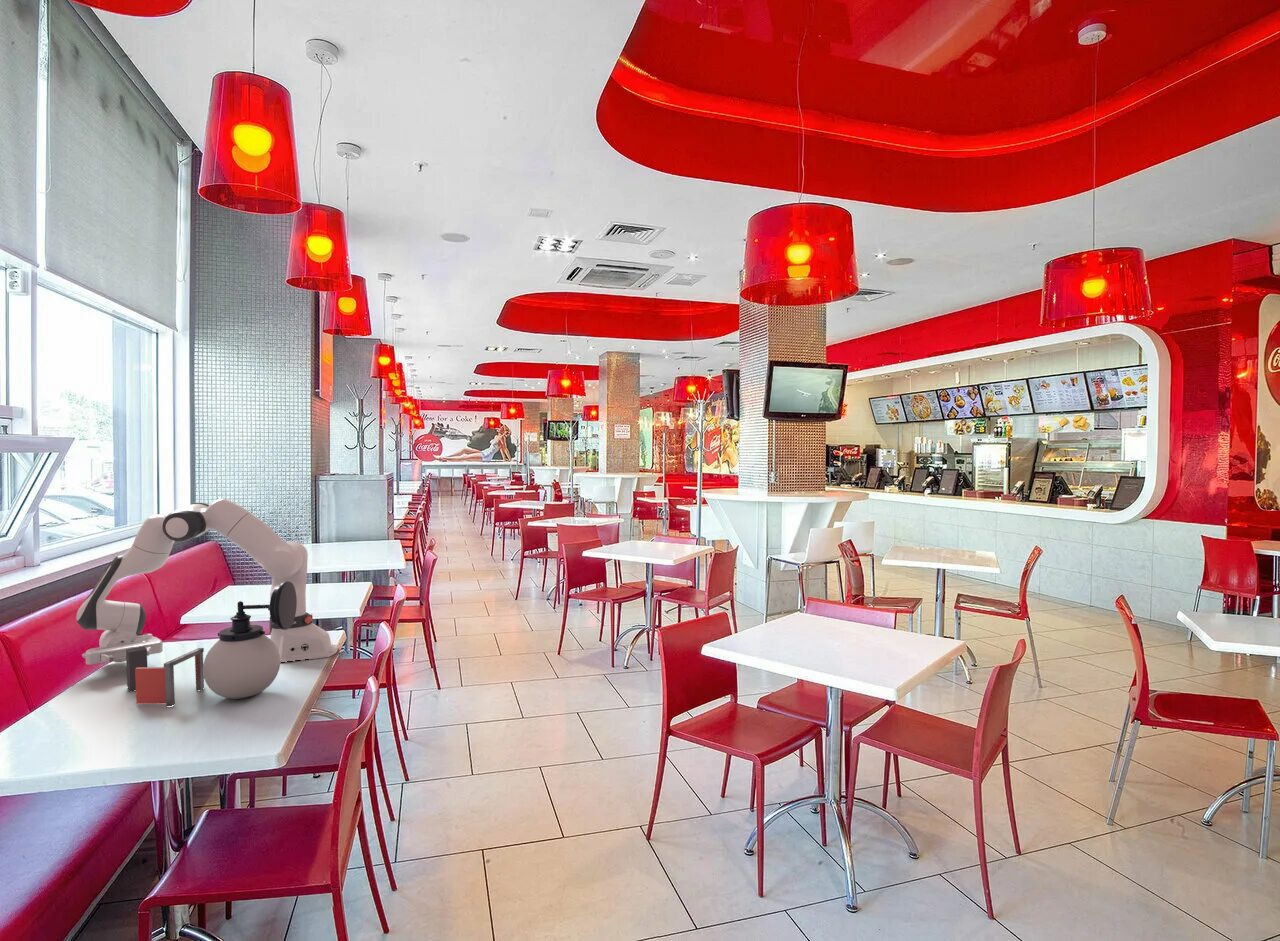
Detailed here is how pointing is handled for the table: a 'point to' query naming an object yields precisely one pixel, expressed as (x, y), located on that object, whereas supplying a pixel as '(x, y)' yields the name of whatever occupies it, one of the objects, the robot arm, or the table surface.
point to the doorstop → (135, 664)
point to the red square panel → (150, 685)
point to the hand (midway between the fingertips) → (128, 656)
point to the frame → (170, 673)
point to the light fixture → (249, 649)
